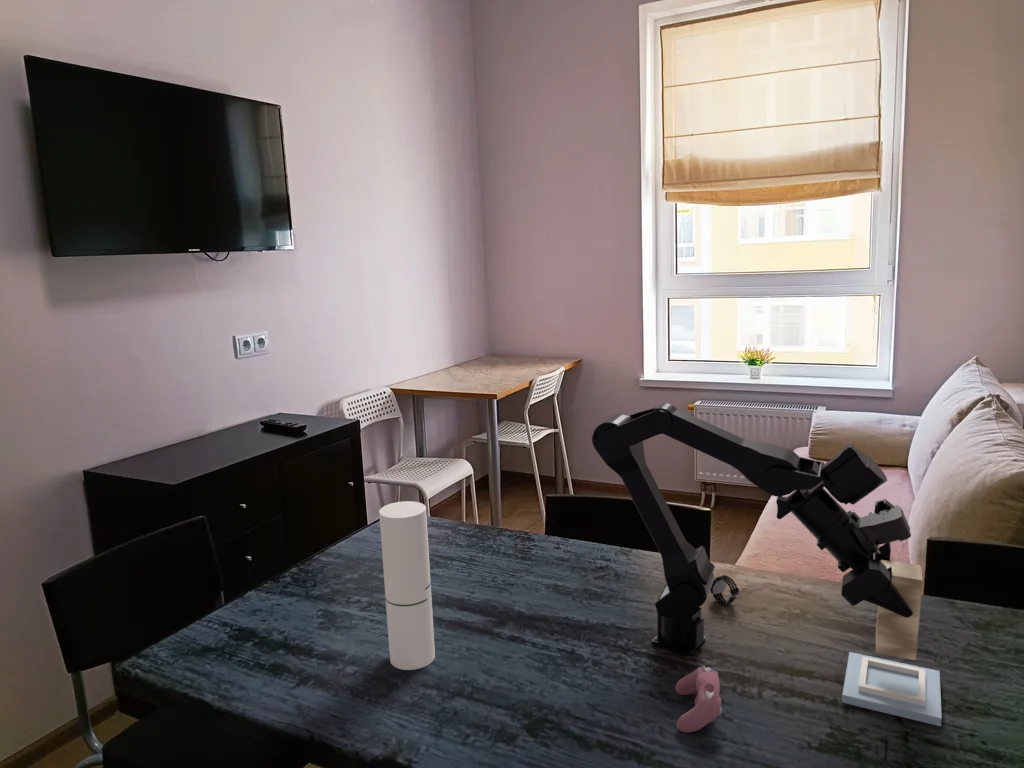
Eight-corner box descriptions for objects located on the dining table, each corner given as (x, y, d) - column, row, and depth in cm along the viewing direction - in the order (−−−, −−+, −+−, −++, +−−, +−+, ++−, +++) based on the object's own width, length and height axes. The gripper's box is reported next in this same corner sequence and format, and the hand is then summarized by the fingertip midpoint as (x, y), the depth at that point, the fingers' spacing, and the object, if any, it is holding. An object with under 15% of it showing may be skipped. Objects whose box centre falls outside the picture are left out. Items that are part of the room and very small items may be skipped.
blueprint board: (841, 702, 103) (842, 689, 103) (849, 658, 114) (849, 647, 113) (940, 726, 98) (942, 712, 97) (938, 678, 108) (939, 666, 108)
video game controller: (705, 747, 98) (731, 707, 96) (673, 730, 98) (698, 690, 96) (701, 702, 107) (724, 664, 105) (672, 686, 108) (695, 649, 106)
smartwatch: (728, 596, 135) (729, 570, 134) (740, 609, 130) (741, 583, 129) (706, 598, 134) (707, 572, 133) (717, 612, 129) (718, 585, 128)
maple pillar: (875, 652, 105) (881, 574, 102) (875, 635, 109) (881, 559, 107) (915, 660, 103) (922, 580, 100) (914, 642, 107) (920, 565, 105)
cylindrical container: (442, 648, 121) (433, 503, 116) (423, 673, 114) (413, 520, 109) (402, 642, 123) (393, 499, 118) (381, 665, 116) (370, 515, 111)
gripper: (875, 512, 95) (967, 607, 92) (874, 469, 111) (953, 549, 109) (806, 559, 100) (892, 651, 97) (815, 512, 116) (889, 589, 114)
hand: (909, 606), depth 104 cm, fingers closed on maple pillar, 5 cm apart
